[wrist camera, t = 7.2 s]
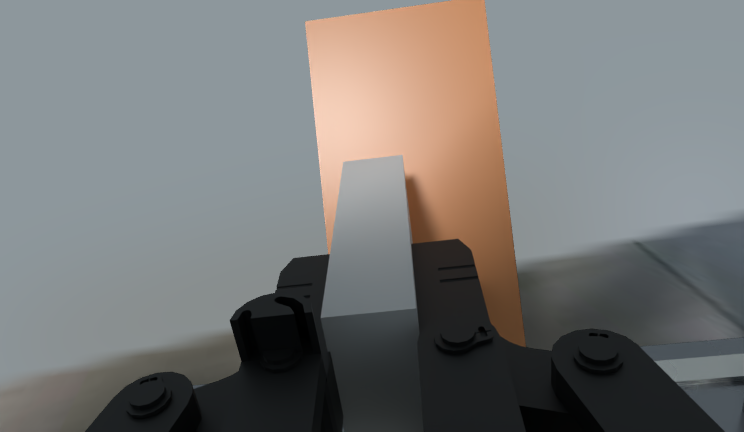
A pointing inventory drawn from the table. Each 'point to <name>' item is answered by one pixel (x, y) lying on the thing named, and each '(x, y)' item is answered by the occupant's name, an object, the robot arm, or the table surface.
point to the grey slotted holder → (705, 376)
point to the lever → (422, 129)
